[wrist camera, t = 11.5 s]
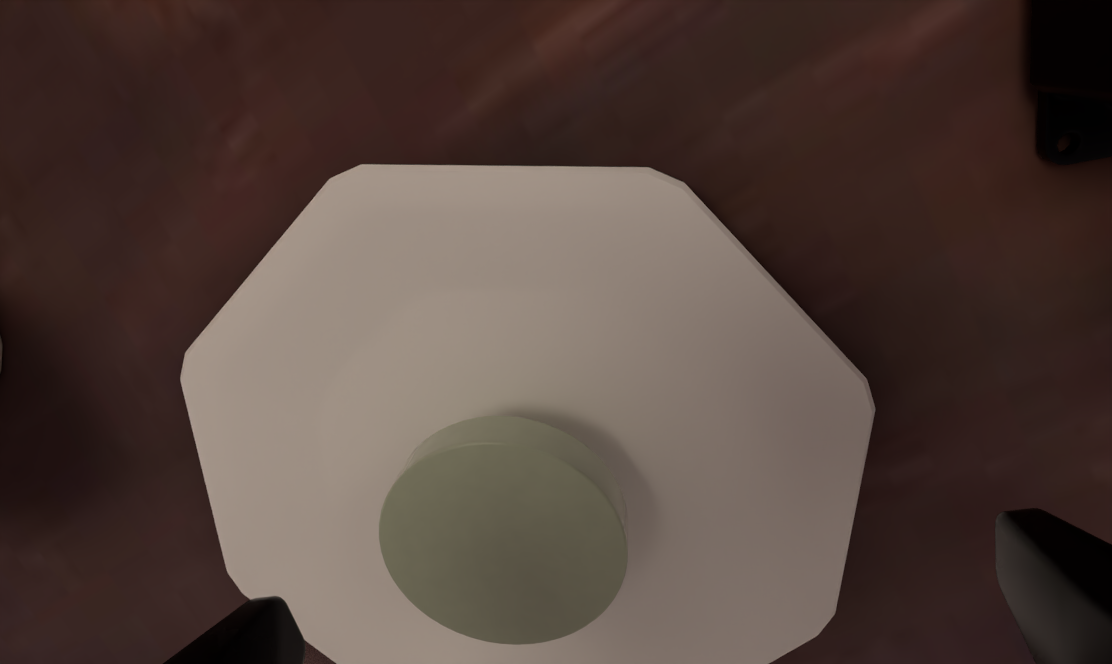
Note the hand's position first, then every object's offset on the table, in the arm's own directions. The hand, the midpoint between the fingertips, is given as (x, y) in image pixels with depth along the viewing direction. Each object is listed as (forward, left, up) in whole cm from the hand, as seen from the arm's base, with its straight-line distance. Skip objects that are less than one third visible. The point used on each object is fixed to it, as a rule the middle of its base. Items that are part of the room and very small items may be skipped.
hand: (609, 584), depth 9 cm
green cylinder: (+4, +6, -10) cm, 12 cm away
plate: (+4, +6, -12) cm, 14 cm away
